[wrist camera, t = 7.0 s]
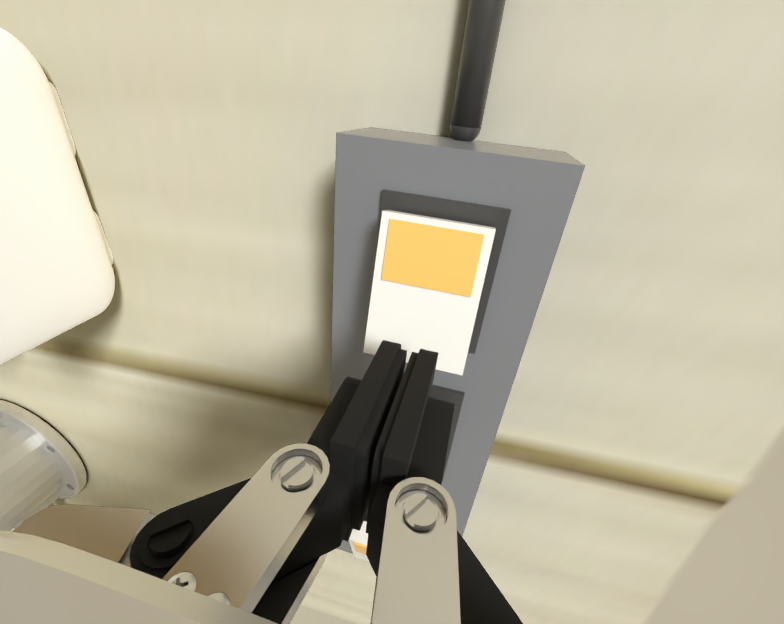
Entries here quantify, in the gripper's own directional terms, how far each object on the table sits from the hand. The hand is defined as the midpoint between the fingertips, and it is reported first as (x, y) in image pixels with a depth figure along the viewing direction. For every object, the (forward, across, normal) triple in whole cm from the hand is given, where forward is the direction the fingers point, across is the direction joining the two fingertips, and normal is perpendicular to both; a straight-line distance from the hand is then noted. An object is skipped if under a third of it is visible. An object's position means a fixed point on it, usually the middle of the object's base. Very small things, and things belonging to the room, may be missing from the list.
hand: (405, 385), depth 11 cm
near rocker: (+3, 0, -2) cm, 3 cm away
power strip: (+8, 0, +2) cm, 9 cm away
